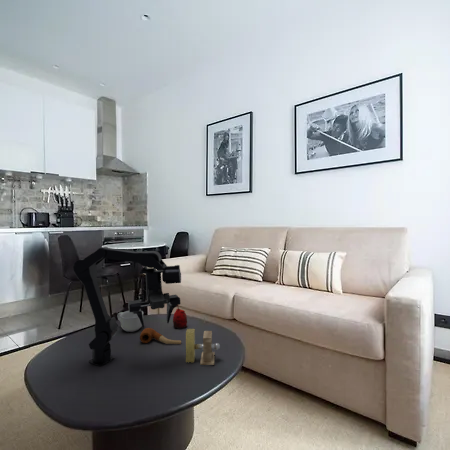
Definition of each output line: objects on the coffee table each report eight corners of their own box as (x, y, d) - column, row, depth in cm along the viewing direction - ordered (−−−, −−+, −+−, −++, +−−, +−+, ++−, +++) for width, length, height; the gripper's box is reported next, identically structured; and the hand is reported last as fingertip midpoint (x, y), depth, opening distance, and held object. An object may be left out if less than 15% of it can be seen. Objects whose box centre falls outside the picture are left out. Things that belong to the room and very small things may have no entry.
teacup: (148, 328, 137) (148, 312, 138) (130, 335, 128) (130, 318, 128) (129, 323, 145) (129, 307, 145) (111, 329, 136) (111, 313, 136)
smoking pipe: (144, 338, 126) (144, 325, 126) (184, 339, 125) (184, 326, 125) (137, 344, 119) (137, 331, 119) (180, 346, 117) (180, 332, 117)
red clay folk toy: (190, 326, 139) (190, 296, 139) (179, 330, 134) (179, 299, 134) (180, 323, 144) (180, 294, 144) (169, 327, 139) (169, 297, 139)
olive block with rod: (185, 362, 103) (185, 332, 103) (187, 357, 107) (187, 328, 107) (220, 362, 103) (220, 332, 103) (220, 357, 107) (220, 328, 107)
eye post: (200, 365, 100) (200, 339, 101) (201, 354, 109) (201, 329, 110) (214, 365, 101) (213, 339, 101) (214, 354, 110) (214, 329, 110)
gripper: (129, 292, 94) (131, 338, 94) (183, 285, 102) (185, 327, 102) (127, 286, 105) (129, 327, 105) (176, 280, 112) (177, 318, 112)
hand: (155, 325), depth 106 cm, fingers open, 9 cm apart
